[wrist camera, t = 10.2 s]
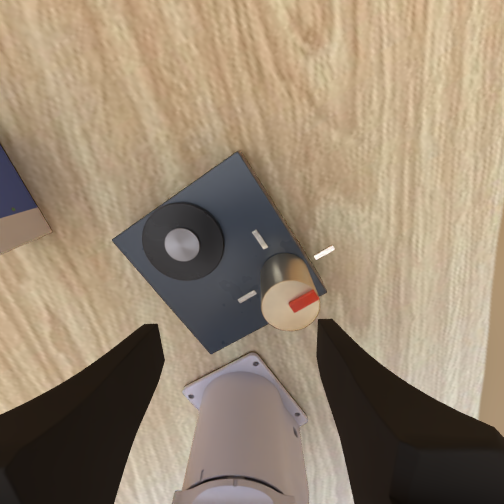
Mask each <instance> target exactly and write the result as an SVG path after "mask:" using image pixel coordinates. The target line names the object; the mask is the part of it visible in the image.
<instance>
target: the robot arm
mask: <svg viewBox="0 0 504 504" xmlns="http://www.w3.org/2000/svg"><path fill="white" fill-rule="evenodd" d="M316 357H317V362H318V367H319V372H320V377H321V380H322V383H323V387H324V390H325V393H326V396H327V399H328V402H329V405H330V408H331V411H332V414H333V417H334V420H335V423H336V426H337V429H338V433H339V436H340V440H341V444H342V449H343V453H344V457H345V462H346V466H347V471H348V475H349V480H350V485H351V489H352V494H353V499H354V504H504V437H503V436H502V435H501V434H500V433H499V432H498V431H497V430H496V429H495V428H494V427H492V426H490V425H488V424H486V423H483V422H481V421H479V420H477V419H474V418H472V417H470V416H468V415H465V414H463V413H461V412H459V411H457V410H455V409H453V408H451V407H449V406H447V405H445V404H443V403H441V402H439V401H437V400H436V399H434V398H432V397H430V396H428V395H427V394H425V393H423V392H422V391H420V390H418V389H417V388H415V387H413V386H412V385H410V384H408V383H407V382H405V381H404V380H402V379H401V378H399V377H398V376H396V375H395V374H394V373H392V372H391V371H389V370H388V369H387V368H385V367H384V366H383V365H381V364H380V363H379V362H377V361H376V360H375V359H374V358H373V357H371V356H370V355H369V354H368V353H367V352H365V351H364V350H363V349H362V348H361V347H360V346H359V345H358V344H357V343H356V342H355V341H354V340H353V339H352V338H351V337H350V336H349V335H348V334H347V333H346V332H345V331H344V330H343V329H342V328H341V327H340V326H339V325H338V324H337V323H336V322H335V321H334V320H333V319H318V332H317V356H316ZM164 361H165V359H164V354H163V349H162V344H161V339H160V334H159V328H158V324H144V325H143V326H141V327H140V328H138V329H137V330H136V331H134V332H133V333H132V334H131V335H129V336H128V337H127V338H126V339H124V340H123V341H122V342H120V343H119V344H118V345H117V346H115V347H114V348H113V349H111V350H110V351H109V352H108V353H106V354H105V355H103V356H102V357H101V358H99V359H98V360H97V361H95V362H94V363H92V364H91V365H90V366H88V367H87V368H85V369H84V370H82V371H81V372H79V373H78V374H76V375H75V376H73V377H71V378H70V379H68V380H66V381H65V382H63V383H62V384H60V385H58V386H56V387H55V388H53V389H51V390H49V391H47V392H45V393H43V394H42V395H40V396H38V397H36V398H34V399H32V400H30V401H28V402H26V403H24V404H22V405H20V406H18V407H16V408H14V409H12V410H10V411H7V412H5V413H3V414H1V415H0V504H114V502H115V498H116V495H117V491H118V488H119V485H120V482H121V478H122V475H123V472H124V468H125V465H126V462H127V459H128V456H129V453H130V450H131V447H132V444H133V441H134V438H135V436H136V433H137V431H138V428H139V426H140V424H141V422H142V419H143V417H144V415H145V412H146V410H147V408H148V405H149V403H150V401H151V399H152V396H153V394H154V392H155V389H156V387H157V384H158V382H159V379H160V375H161V372H162V368H163V365H164ZM255 361H256V362H258V363H254V362H255ZM182 393H183V395H184V396H185V397H186V398H187V399H188V400H189V401H190V402H191V403H192V404H193V405H194V406H195V407H196V408H197V409H198V410H199V414H198V419H197V423H196V428H195V432H194V437H193V441H192V446H191V451H190V455H189V460H188V464H187V469H186V473H185V478H184V483H183V487H182V491H175V493H174V497H173V501H172V504H309V488H308V482H307V475H306V468H305V461H304V454H303V447H302V441H301V434H300V427H299V426H302V425H304V424H306V423H307V422H308V419H307V416H306V415H305V413H304V412H303V411H302V409H301V408H300V407H299V406H298V404H297V403H296V402H295V401H294V399H293V398H292V397H291V396H290V394H289V393H288V392H287V391H286V389H285V388H284V387H283V386H282V384H281V383H280V382H279V381H278V379H277V378H276V377H275V376H274V374H273V373H272V372H271V371H270V369H269V368H268V367H267V366H266V364H265V363H264V362H263V361H262V359H261V358H260V357H259V356H258V354H256V353H254V352H252V353H249V354H247V355H245V356H243V357H241V358H239V359H237V360H235V361H233V362H231V363H229V364H228V365H226V366H224V367H222V368H220V369H218V370H216V371H214V372H212V373H210V374H208V375H206V376H204V377H202V378H200V379H199V380H197V381H195V382H193V383H191V384H189V385H187V386H185V387H184V388H183V391H182ZM190 394H192V395H190Z"/></svg>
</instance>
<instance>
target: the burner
mask: <svg viewBox="0 0 504 504" xmlns="http://www.w3.org/2000/svg"><path fill="white" fill-rule="evenodd" d="M142 244H143V249H144V252H145V254H146V256H147V258H148V260H149V261H150V263H151V264H152V265H153V266H154V267H155V268H156V269H157V270H158V271H159V272H161V273H162V274H164V275H166V276H168V277H170V278H173V279H176V280H182V281H191V280H197V279H200V278H203V277H205V276H207V275H208V274H210V273H211V272H212V271H213V270H214V269H215V268H216V267H217V266H218V264H219V263H220V261H221V258H222V256H223V252H224V246H225V240H224V234H223V231H222V229H221V226H220V225H219V223H218V221H217V220H216V219H215V218H214V216H213V215H212V214H211V213H209V212H208V211H207V210H205V209H204V208H202V207H200V206H198V205H195V204H192V203H187V202H174V203H170V204H167V205H164V206H162V207H161V208H159V209H157V210H156V211H155V212H154V213H152V214H151V216H150V217H149V218H148V220H147V221H146V223H145V225H144V228H143V233H142Z"/></svg>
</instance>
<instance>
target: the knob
mask: <svg viewBox="0 0 504 504" xmlns="http://www.w3.org/2000/svg"><path fill="white" fill-rule="evenodd" d="M260 277H261V311H262V314H263V316H264V318H265V320H266V321H267V322H268V323H269V324H270V325H272V326H273V327H275V328H277V329H280V330H283V331H296V330H300V329H303V328H305V327H307V326H308V325H310V324H311V323H312V322H313V321H314V320H315V318H316V317H317V315H318V313H319V310H320V299H319V296H318V293H317V291H316V288H315V286H314V283H313V281H312V278H311V276H310V273H309V271H308V268H307V266H306V264H305V262H304V261H303V260H302V259H301V258H299V257H298V256H296V255H294V254H290V253H281V254H277V255H274V256H272V257H271V258H269V259H268V260H267V261H266V262H265V263H264V265H263V267H262V269H261V274H260Z"/></svg>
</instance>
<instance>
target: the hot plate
mask: <svg viewBox="0 0 504 504" xmlns="http://www.w3.org/2000/svg"><path fill="white" fill-rule="evenodd" d="M174 202H187V203H192V204H195V205H198V206H200V207H202V208H204V209H205V210H207V211H208V212H209V213H211V214H212V215H213V216H214V218H215V219H216V220H217V221H218V223H219V225H220V226H221V229H222V231H223V234H224V240H225V246H224V252H223V256H222V258H221V261H220V263H219V264H218V266H217V267H216V268H215V269H214V270H213V271H212V272H211V273H210V274H208V275H207V276H205V277H203V278H200V279H197V280H191V281H182V280H176V279H173V278H170V277H168V276H166V275H164V274H162V273H161V272H159V271H158V270H157V269H156V268H155V267H154V266H153V265H152V264H151V263H150V261H149V260H148V258H147V256H146V254H145V252H144V249H143V244H142V233H143V228H144V225H145V223H146V221H147V220H148V218H149V217H150V216H151V214H152V213H154V212H155V211H156V210H157V209H159V208H161V207H162V206H164V205H167V204H170V203H174ZM112 241H113V242H114V244H115V245H116V246H117V247H118V248H119V249H120V251H121V252H122V253H123V254H124V255H125V256H126V257H127V259H128V260H129V261H130V262H131V263H132V264H133V266H134V267H135V268H136V269H137V270H138V271H139V272H140V274H141V275H142V276H143V277H144V278H145V279H146V280H147V282H148V283H149V284H150V285H151V286H152V287H153V289H154V290H155V291H156V292H157V293H158V294H159V295H160V297H161V298H162V299H163V300H164V301H165V302H166V304H167V305H168V306H169V307H170V308H171V309H172V310H173V312H174V313H175V314H176V315H177V316H178V317H179V318H180V320H181V321H182V322H183V323H184V324H185V325H186V327H187V328H188V329H189V330H190V331H191V332H192V333H193V335H194V336H195V337H196V338H197V339H198V340H199V342H200V343H201V344H202V345H203V346H204V347H205V348H206V350H207V351H208V352H209V353H210V354H213V353H215V352H216V351H218V350H220V349H222V348H224V347H226V346H228V345H230V344H231V343H233V342H235V341H237V340H239V339H241V338H243V337H245V336H246V335H248V334H250V333H252V332H254V331H256V330H258V329H260V328H261V327H263V326H265V325H267V324H269V323H268V322H267V321H266V320H265V318H264V316H263V314H262V311H261V277H260V274H261V269H262V267H263V265H264V263H265V262H266V261H267V260H268V259H269V258H271V257H272V256H274V255H277V254H281V253H290V254H294V255H296V256H298V257H299V258H301V259H302V260H303V261H304V262H305V264H306V266H307V268H308V271H309V273H310V276H311V278H312V281H313V283H314V286H315V288H316V291H317V293H318V296H321V295H323V294H325V293H327V291H326V288H325V286H324V284H323V282H322V280H321V278H320V276H319V274H318V273H317V271H316V269H315V268H314V266H313V265H312V263H311V261H310V260H309V258H308V257H307V255H306V254H305V252H304V250H303V249H302V247H301V246H300V244H299V242H298V241H297V239H296V238H295V236H294V235H293V233H292V231H291V230H290V228H289V227H288V225H287V223H286V222H285V220H284V219H283V217H282V215H281V214H280V212H279V211H278V209H277V208H276V206H275V204H274V203H273V201H272V200H271V198H270V196H269V195H268V193H267V192H266V190H265V189H264V187H263V185H262V184H261V182H260V181H259V179H258V177H257V176H256V174H255V173H254V171H253V170H252V168H251V166H250V165H249V163H248V162H247V160H246V158H245V157H244V155H243V154H242V152H241V151H237V152H235V153H234V154H233V155H231V156H230V157H228V158H227V159H225V160H224V161H223V162H221V163H220V164H218V165H217V166H216V167H214V168H213V169H211V170H210V171H208V172H207V173H206V174H204V175H203V176H201V177H200V178H199V179H197V180H196V181H194V182H193V183H191V184H190V185H189V186H187V187H186V188H184V189H183V190H181V191H180V192H179V193H177V194H176V195H174V196H173V197H172V198H170V199H169V200H167V201H166V202H164V203H163V204H162V205H160V206H159V207H157V208H156V209H155V210H153V211H152V212H150V213H149V214H147V215H146V216H145V217H143V218H142V219H140V220H139V221H138V222H136V223H135V224H133V225H132V226H130V227H129V228H128V229H126V230H125V231H123V232H122V233H120V234H119V235H118V236H116V237H115V238H113V239H112ZM334 250H335V248H334V246H333V245H330V246H329V247H327V248H325V249H323V250H322V251H320V252H318V253H316V254H315V255H313V256H314V258H315V259H316V260H318V259H319V258H321V257H323V256H325V255H326V254H328V253H330V252H332V251H334Z"/></svg>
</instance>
